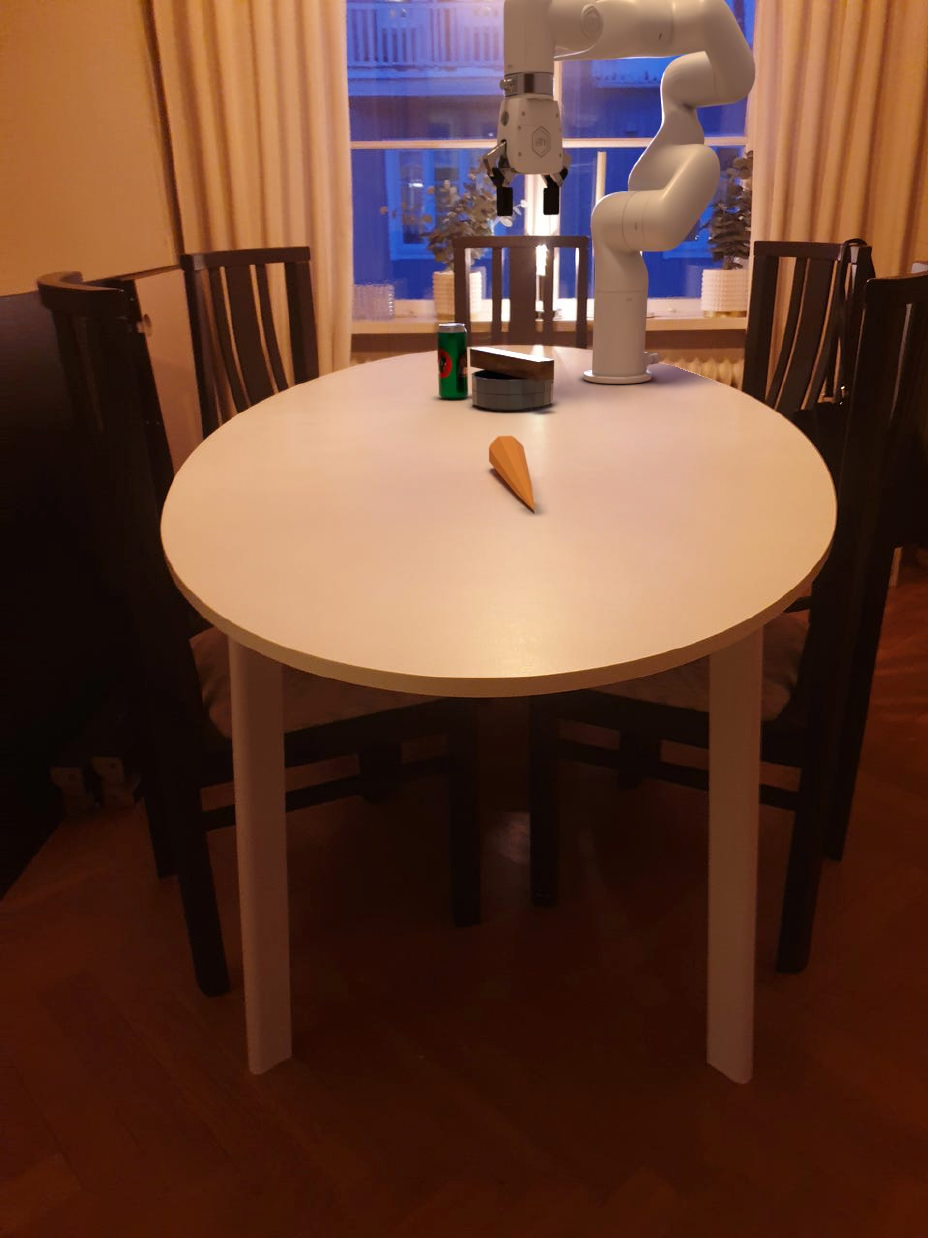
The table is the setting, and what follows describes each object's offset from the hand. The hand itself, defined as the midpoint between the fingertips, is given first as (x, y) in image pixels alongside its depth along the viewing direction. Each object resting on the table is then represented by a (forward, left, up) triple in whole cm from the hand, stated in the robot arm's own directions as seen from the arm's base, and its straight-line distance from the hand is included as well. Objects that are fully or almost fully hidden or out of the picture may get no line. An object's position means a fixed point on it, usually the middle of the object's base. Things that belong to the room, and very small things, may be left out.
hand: (528, 215), depth 142 cm
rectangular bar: (+6, +2, -23) cm, 24 cm away
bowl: (+6, +3, -28) cm, 29 cm away
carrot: (+38, +41, -28) cm, 63 cm away
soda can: (+9, -9, -28) cm, 31 cm away
